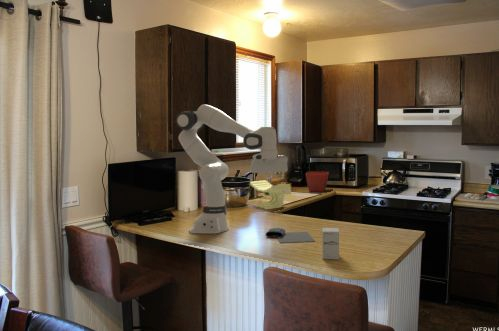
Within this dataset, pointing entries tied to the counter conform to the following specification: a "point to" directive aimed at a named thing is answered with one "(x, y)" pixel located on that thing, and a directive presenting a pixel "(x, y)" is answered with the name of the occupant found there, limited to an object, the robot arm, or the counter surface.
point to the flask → (275, 232)
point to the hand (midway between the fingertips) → (269, 180)
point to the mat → (295, 237)
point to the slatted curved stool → (272, 193)
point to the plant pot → (317, 181)
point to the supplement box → (330, 243)
